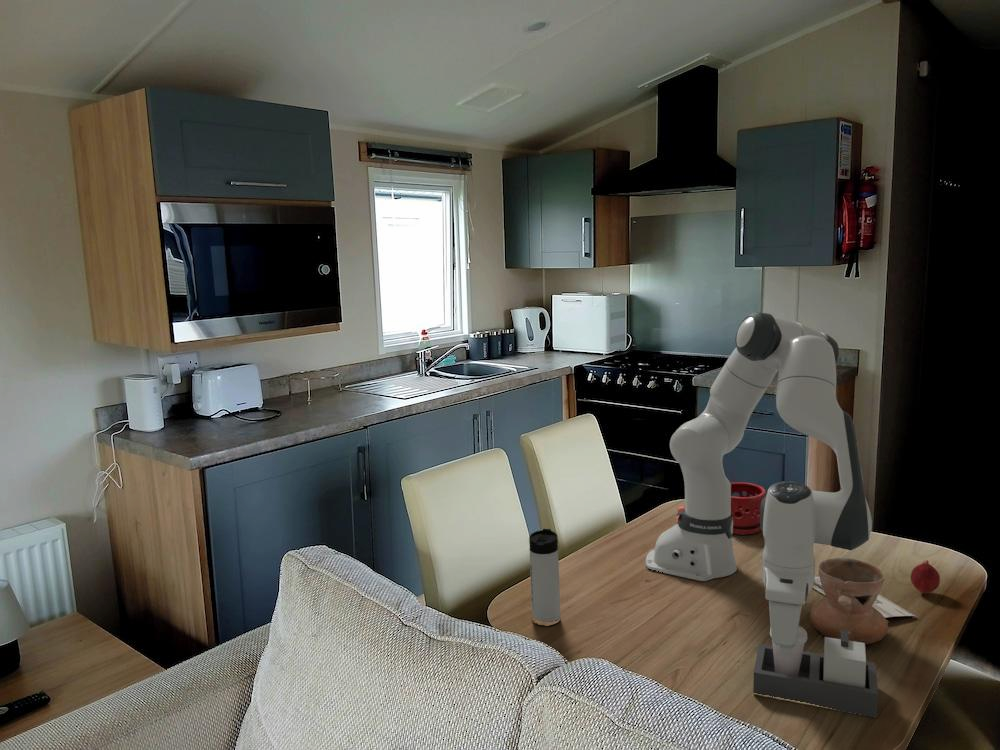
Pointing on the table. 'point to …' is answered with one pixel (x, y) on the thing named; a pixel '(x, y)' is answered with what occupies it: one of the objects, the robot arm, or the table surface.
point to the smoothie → (794, 661)
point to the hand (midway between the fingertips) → (786, 644)
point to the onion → (925, 577)
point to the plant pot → (746, 507)
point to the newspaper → (876, 604)
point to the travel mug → (544, 575)
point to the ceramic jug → (850, 601)
